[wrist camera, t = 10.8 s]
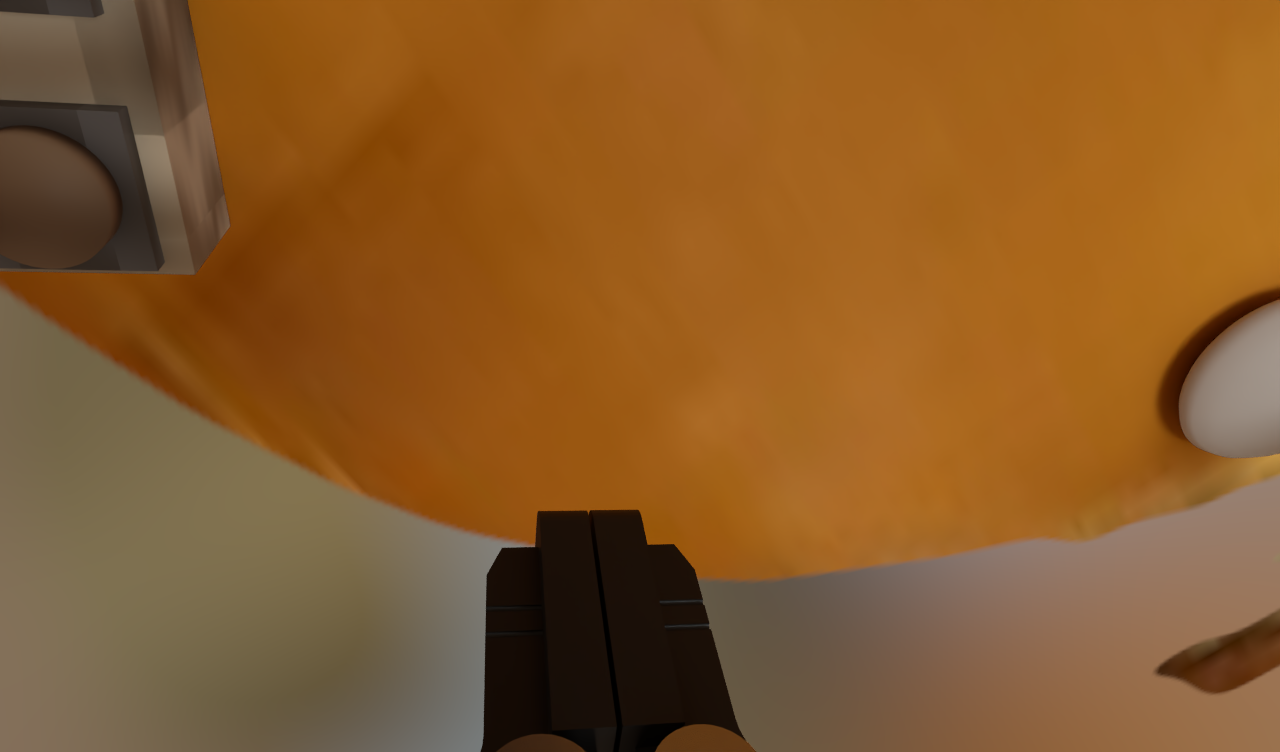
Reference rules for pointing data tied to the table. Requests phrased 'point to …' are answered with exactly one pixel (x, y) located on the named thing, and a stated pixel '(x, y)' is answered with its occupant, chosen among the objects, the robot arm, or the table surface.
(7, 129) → the brown mushroom knob
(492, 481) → the table surface
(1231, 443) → the flower in vase
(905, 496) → the table surface
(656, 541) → the table surface
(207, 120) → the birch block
